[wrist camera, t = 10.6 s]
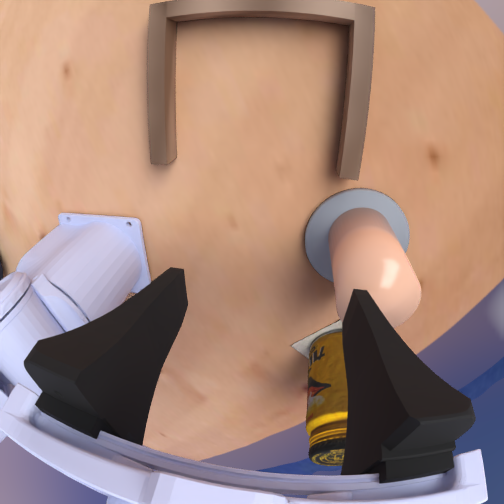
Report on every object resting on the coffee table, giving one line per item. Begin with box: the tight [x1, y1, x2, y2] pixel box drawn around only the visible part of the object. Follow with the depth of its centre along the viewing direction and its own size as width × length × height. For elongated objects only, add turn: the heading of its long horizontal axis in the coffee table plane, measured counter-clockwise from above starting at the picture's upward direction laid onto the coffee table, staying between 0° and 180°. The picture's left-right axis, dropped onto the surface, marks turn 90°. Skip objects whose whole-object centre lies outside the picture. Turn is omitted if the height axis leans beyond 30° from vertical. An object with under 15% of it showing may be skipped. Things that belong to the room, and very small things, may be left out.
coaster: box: [305, 188, 409, 282], centre depth 21 cm, size 8×8×1 cm
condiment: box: [292, 320, 348, 466], centre depth 22 cm, size 7×8×12 cm
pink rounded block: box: [328, 207, 421, 328], centre depth 18 cm, size 7×5×7 cm
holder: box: [147, 0, 375, 181], centre depth 15 cm, size 13×11×2 cm
